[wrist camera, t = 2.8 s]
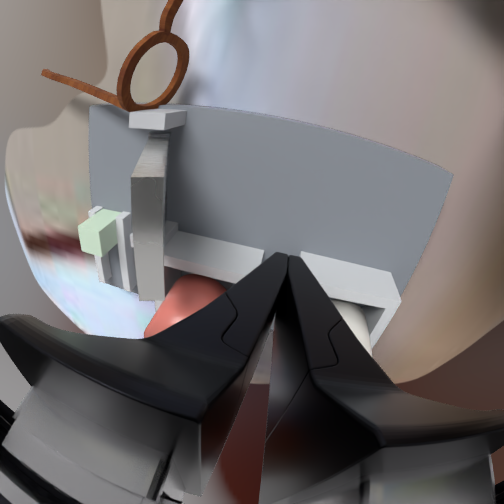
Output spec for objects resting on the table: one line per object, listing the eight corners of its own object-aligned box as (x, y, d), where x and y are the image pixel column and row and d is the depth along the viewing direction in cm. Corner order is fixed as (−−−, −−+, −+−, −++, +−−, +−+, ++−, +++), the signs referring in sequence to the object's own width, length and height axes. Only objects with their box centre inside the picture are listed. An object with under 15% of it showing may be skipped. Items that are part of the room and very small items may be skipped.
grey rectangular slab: (171, 131, 14) (167, 170, 8) (166, 216, 16) (167, 304, 10) (149, 130, 13) (127, 170, 7) (147, 216, 16) (137, 304, 10)
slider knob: (123, 212, 17) (98, 231, 15) (124, 236, 18) (102, 257, 16) (102, 208, 17) (77, 226, 15) (105, 231, 18) (81, 250, 16)
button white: (376, 306, 15) (388, 361, 11) (351, 348, 17) (355, 400, 13) (313, 293, 15) (312, 350, 11) (295, 338, 17) (290, 392, 13)
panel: (439, 165, 14) (478, 191, 10) (366, 330, 21) (372, 376, 17) (108, 103, 15) (59, 111, 11) (115, 269, 23) (84, 302, 19)
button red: (236, 283, 15) (216, 336, 12) (229, 329, 17) (212, 379, 14) (172, 266, 16) (139, 313, 12) (173, 313, 18) (148, 359, 14)
